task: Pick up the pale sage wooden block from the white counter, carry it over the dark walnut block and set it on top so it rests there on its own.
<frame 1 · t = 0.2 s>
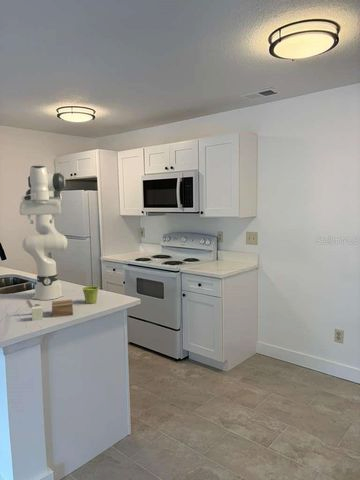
hand: (41, 223, 188), 47 cm above the countertop, tool pointing down, fingers open, 8 cm apart
walnut block: (62, 313, 189), on the countertop
plant pot: (91, 302, 209), on the countertop
sage block: (37, 319, 180), on the countertop
lighter: (34, 314, 188), on the countertop
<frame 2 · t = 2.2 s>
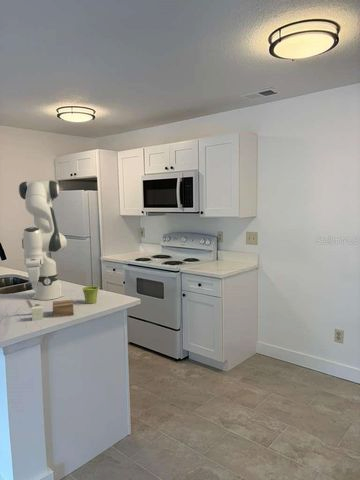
hand: (35, 288, 178), 16 cm above the countertop, tool pointing down, fingers open, 8 cm apart
nothing on the countertop moved.
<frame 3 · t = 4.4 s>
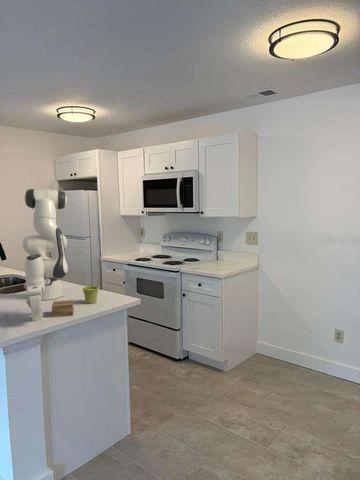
hand: (37, 314, 180), 2 cm above the countertop, tool pointing down, fingers closed on sage block, 4 cm apart
sage block: (37, 318, 180), on the countertop, touching gripper
everything else where it was.
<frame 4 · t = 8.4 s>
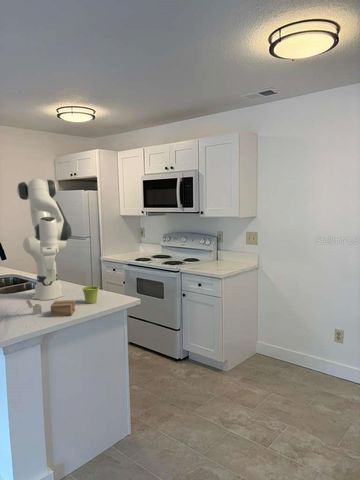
hand: (50, 275, 183), 21 cm above the countertop, tool pointing down, fingers closed on sage block, 4 cm apart
sage block: (51, 280, 184), point 18 cm above the countertop, touching gripper
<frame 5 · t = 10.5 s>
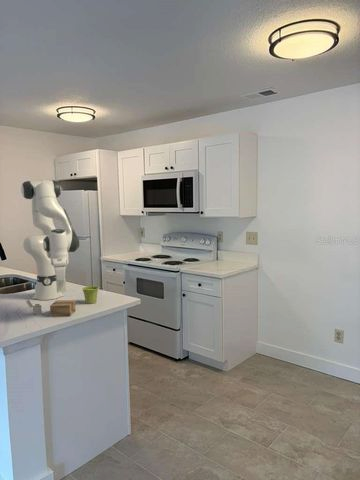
hand: (61, 286, 187), 14 cm above the countertop, tool pointing down, fingers closed on sage block, 4 cm apart
sage block: (61, 291, 187), point 12 cm above the countertop, touching gripper
when the fingers open (10 cm above the countertop, at t = 12.3 s): sage block drops 2 cm, resting on walnut block.
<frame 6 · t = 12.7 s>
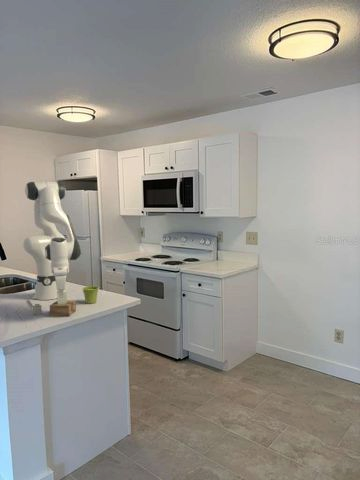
hand: (61, 295, 188), 10 cm above the countertop, tool pointing down, fingers open, 8 cm apart
walnut block: (63, 314, 188), on the countertop, touching sage block
sage block: (62, 302, 188), point 6 cm above the countertop, touching walnut block
everything else where it was.
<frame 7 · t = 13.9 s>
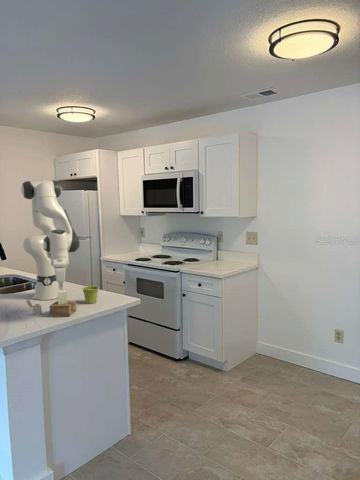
hand: (61, 287, 188), 14 cm above the countertop, tool pointing down, fingers open, 8 cm apart
nothing on the countertop moved.
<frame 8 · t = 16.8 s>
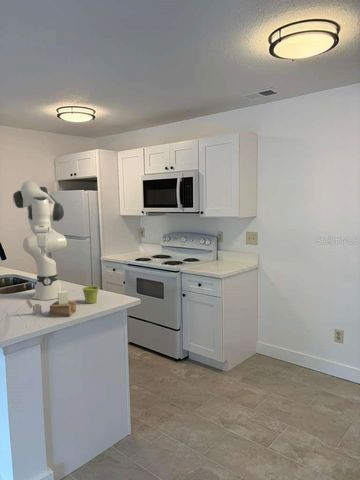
hand: (43, 254, 189), 31 cm above the countertop, tool pointing down, fingers open, 8 cm apart
walnut block: (63, 314, 188), on the countertop
sage block: (63, 303, 188), point 6 cm above the countertop
everything else where it was.
at the end: sage block inside the target area on the walnut block (0.4 cm from its centre), point 6.0 cm above the walnut block's base; sage block tilted 0°; the gripper is holding nothing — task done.
